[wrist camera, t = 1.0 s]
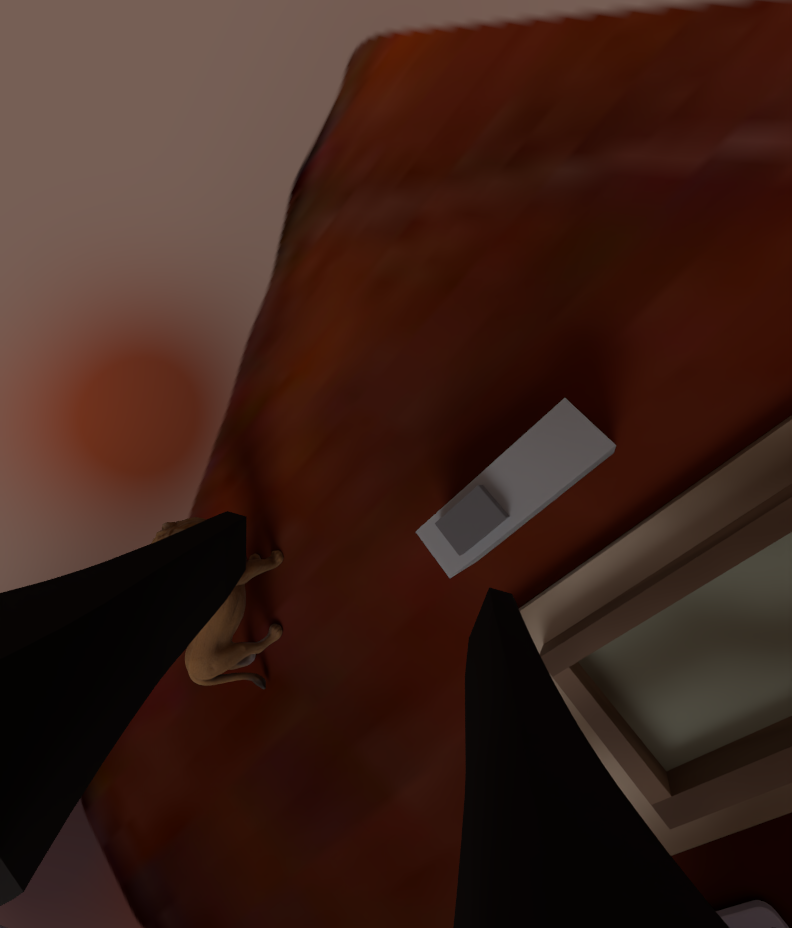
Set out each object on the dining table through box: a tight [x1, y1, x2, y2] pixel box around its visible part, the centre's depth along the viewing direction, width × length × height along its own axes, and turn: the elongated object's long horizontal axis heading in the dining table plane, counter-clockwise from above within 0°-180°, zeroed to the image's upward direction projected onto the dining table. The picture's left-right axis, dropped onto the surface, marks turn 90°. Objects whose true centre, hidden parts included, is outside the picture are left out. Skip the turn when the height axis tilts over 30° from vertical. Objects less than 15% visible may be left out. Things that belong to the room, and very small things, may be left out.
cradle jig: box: [519, 415, 792, 856], centre depth 16 cm, size 12×18×3 cm, turn 132°
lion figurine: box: [151, 517, 283, 689], centre depth 29 cm, size 15×5×9 cm, turn 7°
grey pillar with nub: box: [416, 398, 616, 578], centre depth 20 cm, size 3×10×6 cm, turn 132°
